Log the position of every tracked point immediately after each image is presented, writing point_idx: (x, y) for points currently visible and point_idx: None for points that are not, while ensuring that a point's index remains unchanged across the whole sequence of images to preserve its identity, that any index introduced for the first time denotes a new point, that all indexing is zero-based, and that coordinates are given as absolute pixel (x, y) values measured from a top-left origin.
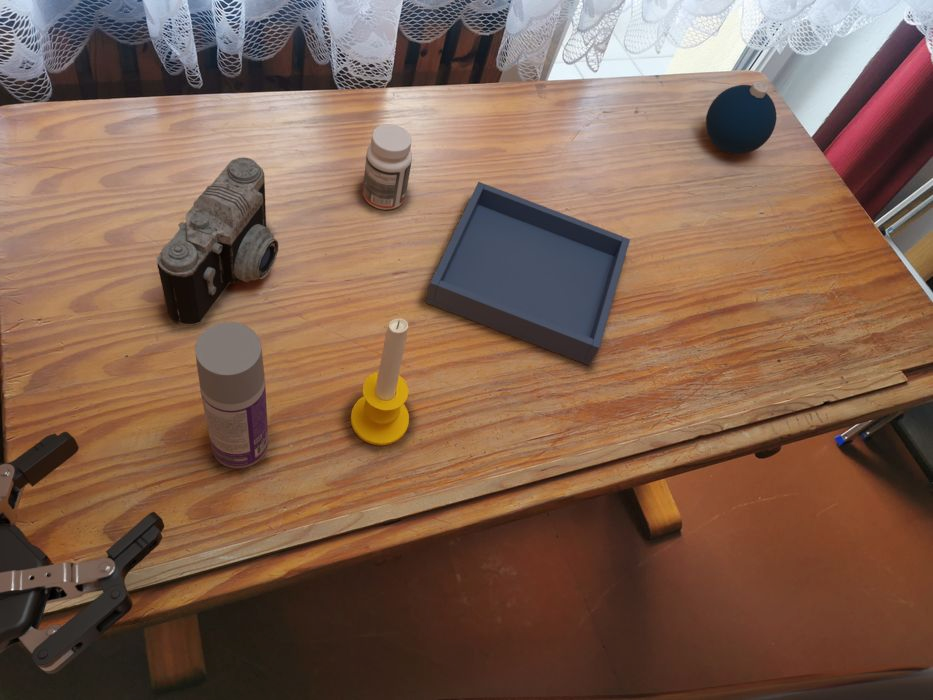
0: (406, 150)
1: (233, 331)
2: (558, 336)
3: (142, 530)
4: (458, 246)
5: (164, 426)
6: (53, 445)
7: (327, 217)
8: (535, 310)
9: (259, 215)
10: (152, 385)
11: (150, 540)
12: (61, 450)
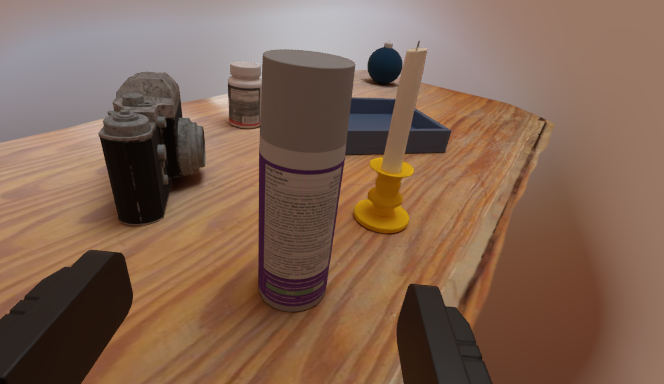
0: (260, 68)
1: (296, 52)
2: (425, 134)
3: (443, 319)
4: None
5: (193, 313)
6: (78, 278)
7: (218, 139)
8: None
9: (180, 110)
10: (146, 283)
11: (469, 334)
12: (102, 293)
